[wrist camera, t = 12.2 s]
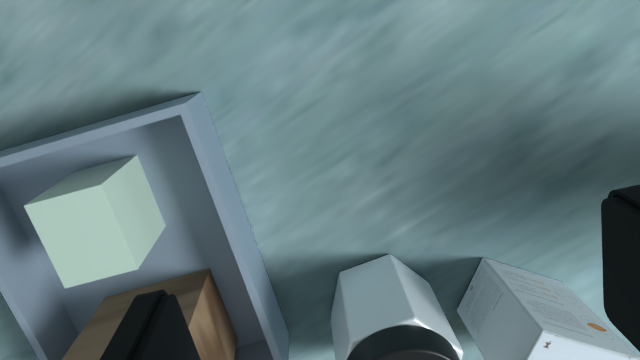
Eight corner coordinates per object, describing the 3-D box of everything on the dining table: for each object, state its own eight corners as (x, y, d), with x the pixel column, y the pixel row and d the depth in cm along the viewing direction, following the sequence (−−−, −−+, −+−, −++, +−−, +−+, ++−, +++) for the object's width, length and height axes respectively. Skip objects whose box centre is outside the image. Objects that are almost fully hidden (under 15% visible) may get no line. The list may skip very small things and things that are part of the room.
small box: (454, 309, 43) (502, 397, 33) (481, 254, 41) (541, 329, 31) (534, 333, 44) (605, 426, 34) (564, 280, 42) (647, 361, 32)
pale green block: (73, 172, 36) (23, 205, 30) (137, 154, 36) (100, 184, 30) (105, 242, 38) (64, 288, 32) (165, 225, 38) (137, 269, 31)
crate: (-16, 155, 37) (-65, 176, 32) (201, 91, 36) (185, 102, 31) (104, 384, 43) (79, 430, 38) (289, 334, 43) (287, 375, 38)
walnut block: (105, 297, 40) (52, 372, 31) (209, 268, 39) (185, 336, 31) (138, 365, 42) (97, 453, 33) (237, 338, 42) (222, 420, 33)
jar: (308, 304, 42) (312, 411, 30) (370, 236, 40) (399, 322, 29) (386, 357, 44) (417, 476, 32) (448, 294, 42) (504, 396, 31)
